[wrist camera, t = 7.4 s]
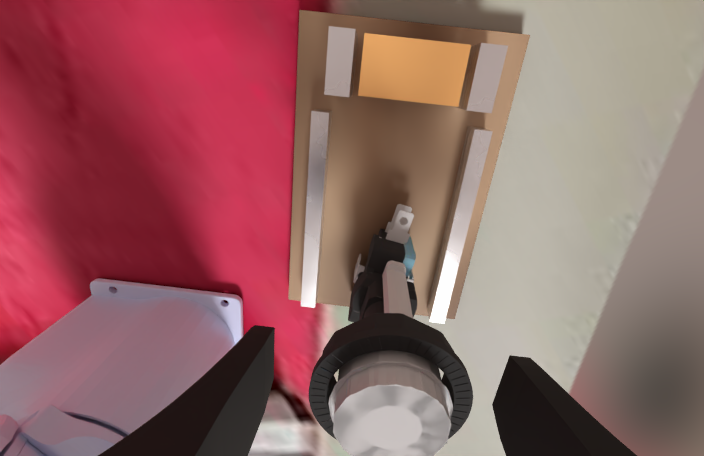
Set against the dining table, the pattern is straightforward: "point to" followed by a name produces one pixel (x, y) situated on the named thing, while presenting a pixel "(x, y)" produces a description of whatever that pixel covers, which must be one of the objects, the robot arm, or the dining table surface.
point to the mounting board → (388, 158)
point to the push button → (389, 362)
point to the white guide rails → (474, 97)
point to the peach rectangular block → (413, 69)
